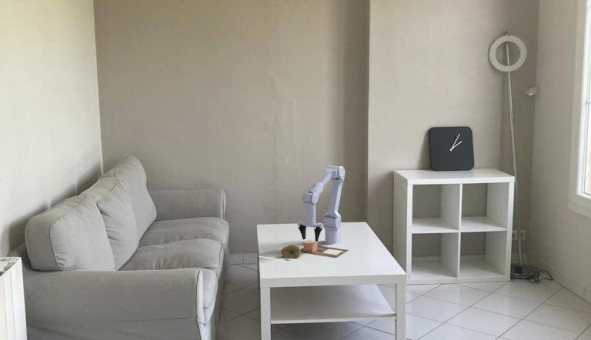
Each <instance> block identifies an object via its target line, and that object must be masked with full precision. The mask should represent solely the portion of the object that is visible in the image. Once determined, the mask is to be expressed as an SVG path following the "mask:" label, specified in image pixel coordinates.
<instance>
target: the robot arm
mask: <svg viewBox="0 0 591 340" xmlns="http://www.w3.org/2000/svg"><path fill="white" fill-rule="evenodd" d="M323 171H324V172H323V175H322V176H321V177H320V179H319V180H318V182H315V183H313V185H312V186H311V188H310V189H309V190H308V192H307V191H306V192H305V193H304V194H303V196H302V199H301V201H302V202H303V207H304V221H297V226H298V227H297V228H298V230H299V232H300V235H301V237H302V238H301V239H302V240H306V238H307V234H306V233H307V227H309V228H314V229H313V231H314V241H317V242H319V239H320V234H321V232H322V231H323V229H324V244H327V245H337V244H342V243H343V241H341V229H340V228H341V226H342V216H341V214H340V213H339V206H340V200H341V195H342V190H343V189H342V188H343V183H344V181H345V177H346V176H345V175H346V169H345V168H344V166H339V165H330V164H328V165H326V166H325V168H324V170H323ZM329 181H331V182H332V187H331V194H330V198H329V204H328V210H327V211H325V212H324V213H323V216H322V218H321V223H319V222H316V219H317V217H316V216H317V215H316V213H317V211H316V207H317V206H316V204H317V203H318V201H319V197H320V195H321V193H322V192H324V187H325V185H326V184H327V183H328V182H329Z"/></svg>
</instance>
